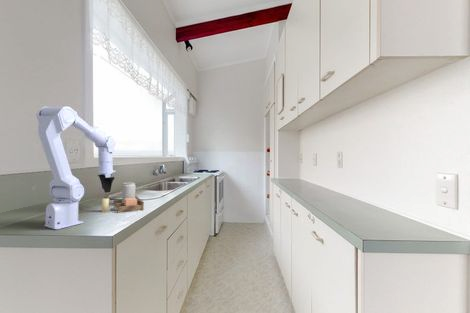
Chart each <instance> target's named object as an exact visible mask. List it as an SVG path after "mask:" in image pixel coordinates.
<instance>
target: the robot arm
mask: <svg viewBox="0 0 470 313" xmlns="http://www.w3.org/2000/svg"><path fill="white" fill-rule="evenodd" d="M35 117H36V118H37V122H38V126H37V133H38V136H39V139H40V142H41V145H42V148H43V151H44V154H45V158H46V160H47V162H48V165H49V168H50V171H51V174H52V176H53V179H52V180H51V181H50V182H49V183H48V184H49V195H50V197H51V199H53V202H51V203H49V204H47V206H46V207H45V219H44V220H45V223H44V225H43V227H46V228H49V229H53V230H60V229H61V230H62V229H63V228H69V227H73V226H77V225H81V224H84V221H82V220H79V203H80V201H81V199H82V198H83V196H84V195H85V187H84V186H83V184H81V182H80V179H79V178H77V177H76V176H74V175H73V172H72V170H71V165H70V164H69V161H68V157H67V154H66V151H65V148H64V145H63V141H62V138H61V134H62V132H64V131H65V130H67V129H68V128H69V127H71V126H72V127H73V128H75V129H77V130H79V131H81V132H83V133H84V137H85V138H86V139H88V140H89V141H91V142H93V143H94V146H95V147H96V148H98V149H97V150H98V151H97V154H98V157H97V158H98V171H97V172H98V178H99V180H100V184H101V188H102V190H104V193H105V194H106V193H111V189H112V184H113V182H114V180H115V177H114V176H112V174H113V173H116V172H117V171H116V170H115V169H113V168H114V167H113V166H114V164H113V163H114V162H113V161H114V160H113V157H114V156H113V152H114V150H115V149H114V148H115V145H116V141H115V139H114V137H112V136H111V135H107V134H106V132H103V131H102V130H100V129H99V127H98V126H94V125H93V126H91V125H89V124H88V123H87V122H86V121H85V120H84V119H82V117H80V116H79V115H78V112H77V111H76V110H74V109H73V108H72V107H70V106H42V107H41V108H39V110H38V111H37V113H36V114H35Z"/></svg>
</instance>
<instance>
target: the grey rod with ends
mask: <svg viewBox="0 0 470 313" xmlns="http://www.w3.org/2000/svg"><path fill="white" fill-rule="evenodd" d="M132 205H137V199H136V198H125V199H124V206H132ZM109 211H110V212H115V211H117V212H118V208H116V207H115V208H114V207H112V208H110V198H109V197H105V198H101V213H109Z"/></svg>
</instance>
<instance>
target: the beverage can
mask: <svg viewBox="0 0 470 313" xmlns="http://www.w3.org/2000/svg"><path fill="white" fill-rule="evenodd" d="M121 188H122V190H121V200H122V203H124V199H125V198H135V196H136V189H137V188H136V182H123V183H122V187H121Z"/></svg>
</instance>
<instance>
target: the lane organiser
mask: <svg viewBox="0 0 470 313" xmlns="http://www.w3.org/2000/svg"><path fill="white" fill-rule="evenodd" d="M135 198H136V199H137V205H132V206H124V203H122V199H113V201H112V202H113V203H112V205H113V206H115V208H118V210H117V213H129V212H138V210H140V211H144V207H145V206H144V205H145V202H144V201H143V200H142V199H140V197H139V196H137V195H135Z"/></svg>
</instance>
